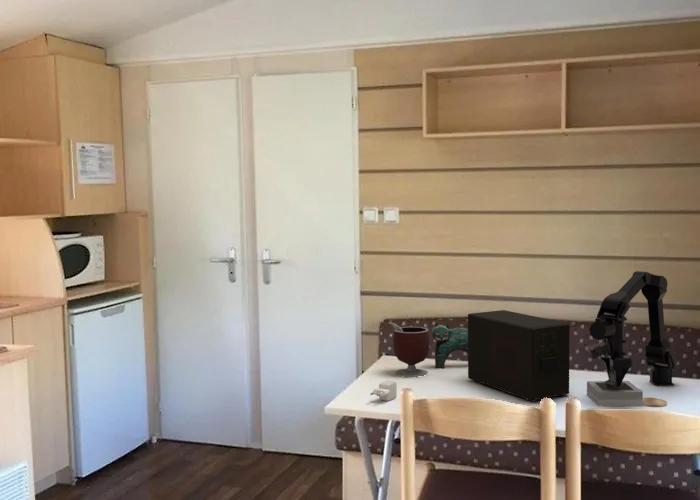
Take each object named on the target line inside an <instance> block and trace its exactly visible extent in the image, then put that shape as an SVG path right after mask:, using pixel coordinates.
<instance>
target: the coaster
mask: <svg viewBox="0 0 700 500" xmlns="http://www.w3.org/2000/svg"><path fill="white" fill-rule="evenodd" d="M667 405H668V402H667V400H665V399H662V398H657V397H643V406H645V407H651V408H661V407H665V406H667Z"/></svg>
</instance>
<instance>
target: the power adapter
mask: <svg viewBox="0 0 700 500" xmlns="http://www.w3.org/2000/svg"><path fill="white" fill-rule="evenodd" d="M397 387H398V386H397V382H396V381H394V380H385V381H383V382H380V383H379V384H378V388H375V389H374V390H373V391H372V392H370V396H373V395H374V396H377V397H378V398H379V400H381V401H384V402H389V401H392V400H394V399H396V398H397V397H398V396H397V395H398V394H397V392H398V391H397Z"/></svg>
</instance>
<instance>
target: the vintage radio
mask: <svg viewBox="0 0 700 500" xmlns="http://www.w3.org/2000/svg"><path fill="white" fill-rule="evenodd" d="M467 326H468V327H467V329H468V353H467V378H468V379H469V380H472V381H474V382H476V383H478V382H480V383H481V384H484V385H486V386H489V387H492V388H494V389H498V390H501V391H503V392H506V393H509V394H512V395H514V396H517V397H520V398H522V399H526V400H528V402H535V401H536V400H539V399H540V400H541V399H545V398H544V397H547V398H552V397H563V396H564V395H568V394H569V393H570V334H571V333H570V330H571V329H570V323H568V322H564V321H559V320H554V319H549V318H544V317H539V316H535V315H529V314H525V313H520V312H515V311H509V310H505V309H503V310H502V309H501V310H492V311H484V312H472V313H468V314H467Z"/></svg>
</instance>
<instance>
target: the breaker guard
mask: <svg viewBox="0 0 700 500" xmlns="http://www.w3.org/2000/svg"><path fill="white" fill-rule="evenodd" d="M605 381H606V380H600V381H599V380H598V381H597V380H589V381H587V380H586V395H587V396H588V398H590V399H591V400H592V401H593V402H594V403H595V404H596V405H597V406H598V407H604V406H606V407H607V406H609V407H610V406H611V407H614V406H615V407H621V406H622V407H635V406H637V407H639V406H641V407H642V406H644V405H643V398H644V392H643V391H642V390H641V389H640V388H638V387H637V386H636V385H635V384H633V383H632V382H631V381H630V380H623V381H622V382H624V384H623V386H622V388H621V389H620V390H610V389H608V388H607V386H606V383H605Z"/></svg>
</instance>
